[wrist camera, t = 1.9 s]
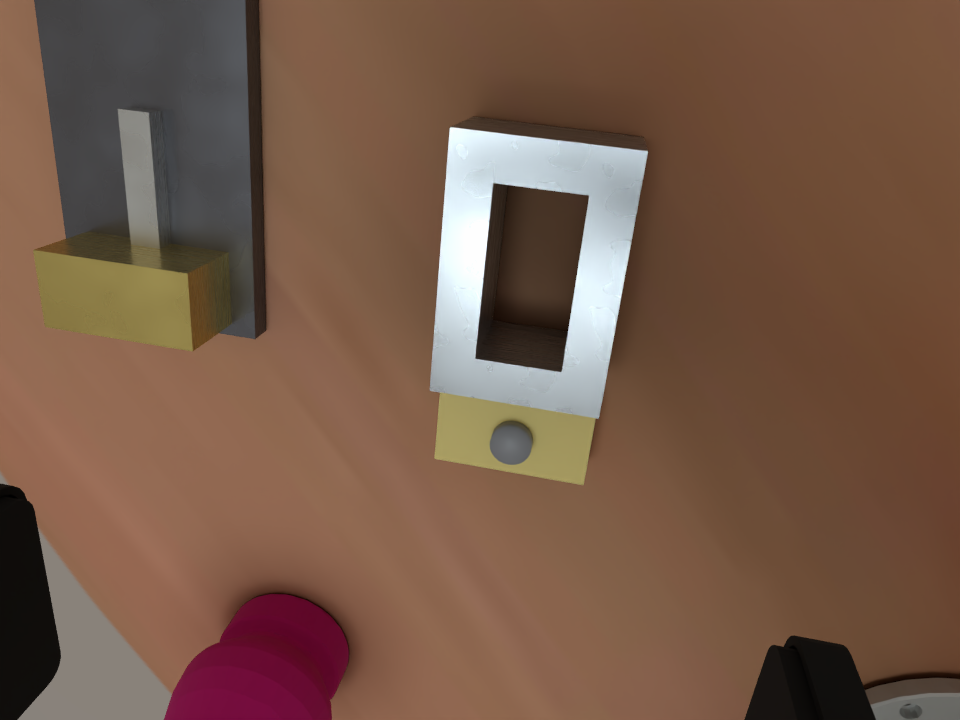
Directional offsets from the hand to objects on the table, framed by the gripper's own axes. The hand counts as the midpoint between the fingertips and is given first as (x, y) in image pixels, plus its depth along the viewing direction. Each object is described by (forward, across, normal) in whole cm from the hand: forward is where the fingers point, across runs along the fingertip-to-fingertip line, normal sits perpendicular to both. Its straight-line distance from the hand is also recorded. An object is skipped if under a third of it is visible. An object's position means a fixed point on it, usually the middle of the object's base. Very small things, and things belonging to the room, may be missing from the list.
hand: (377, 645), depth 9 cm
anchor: (+20, 0, +7) cm, 21 cm away
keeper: (+20, +15, -5) cm, 26 cm away
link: (+20, 0, 0) cm, 20 cm away
